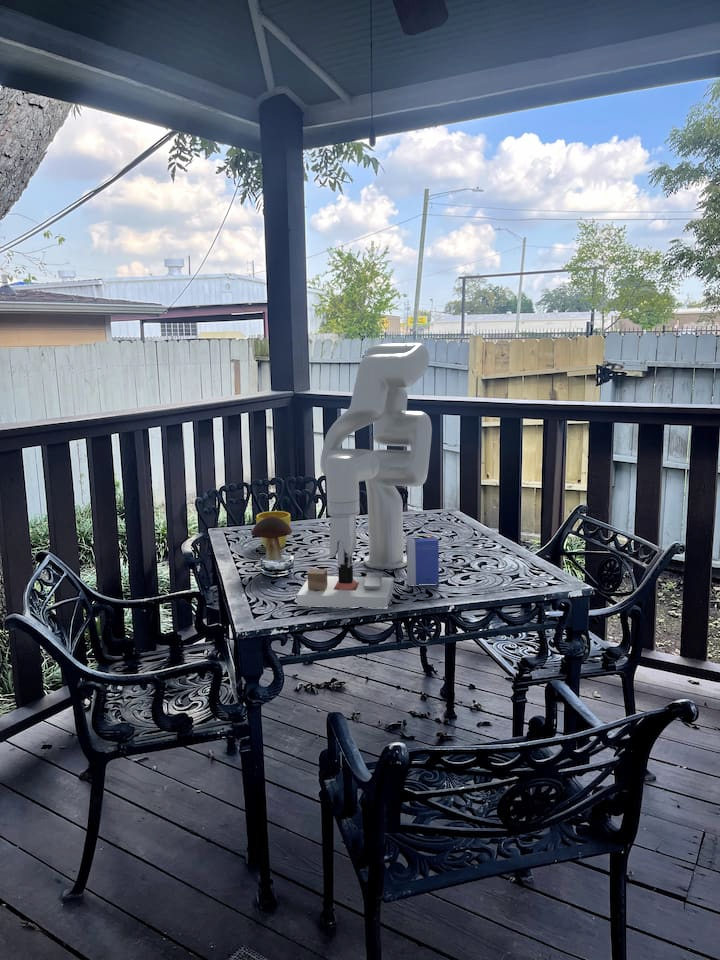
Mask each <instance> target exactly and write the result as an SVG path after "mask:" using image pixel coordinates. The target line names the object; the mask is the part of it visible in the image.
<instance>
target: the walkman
mask: <svg viewBox="0 0 720 960" xmlns="http://www.w3.org/2000/svg"><path fill="white" fill-rule="evenodd" d="M405 540H406V544H405V555H407V565H406V583H407V584H408V585H419V584H436V583H440V578H439V577H440V569H439V567H440V566H439V563H440V562H439V560H440V558H439V556H440V555H439V553H440V552H439V547H440V546H439V541H440V540H439V538H437V536H436V537H435V536H432V535H431V536H427V537H420V538H406V539H405ZM407 584H406V585H407Z"/></svg>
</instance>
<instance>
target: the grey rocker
mask: <svg viewBox="0 0 720 960" xmlns="http://www.w3.org/2000/svg"><path fill="white" fill-rule="evenodd" d="M365 577H366V579H365V583H364V589H380V584H381V579H382V577H383V572H371V571H367V572H366V575H365Z"/></svg>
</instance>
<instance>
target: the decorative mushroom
mask: <svg viewBox="0 0 720 960" xmlns="http://www.w3.org/2000/svg"><path fill="white" fill-rule="evenodd" d="M292 533H293V530H292V528H291V525H290V526H289V525H288V524H287V523H286V522H284V521H283V520H282V519H280V518H277V517H273V516H271V517H267V518H265V519H263V520H261V521H260V522H259V523H257V524H255V525H254V527H253V529H252V531H251V536H252V537H253V536H254V537H256V538H257V537H258V538H261V537H263V538H267V542H266V548H265V561H266V560H280V559H282V551H281V548H280V544H279V540H278V537H283V536H286V535H287V536H289V535H291V534H292Z"/></svg>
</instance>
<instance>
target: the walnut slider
mask: <svg viewBox="0 0 720 960" xmlns="http://www.w3.org/2000/svg"><path fill="white" fill-rule="evenodd" d="M327 576H328V569H327V568H310V569H309V570H308V572H307V579H308V589H309V590H325V589H326V587H327V585H328V583H327Z"/></svg>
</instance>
